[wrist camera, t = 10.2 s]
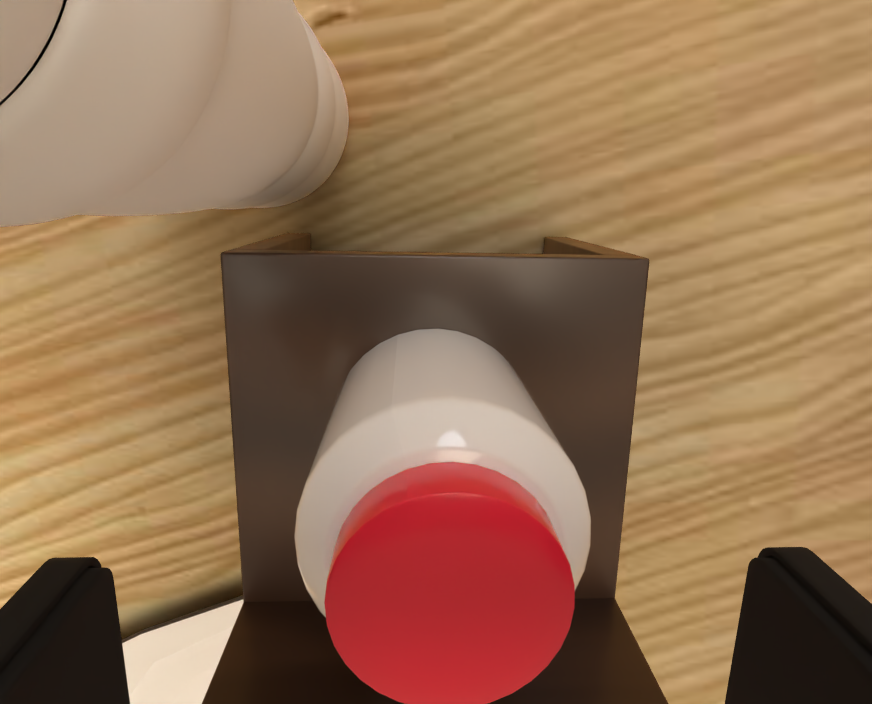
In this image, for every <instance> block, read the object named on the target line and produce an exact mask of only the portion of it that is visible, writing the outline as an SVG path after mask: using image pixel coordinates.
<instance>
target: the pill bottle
mask: <svg viewBox="0 0 872 704" xmlns="http://www.w3.org/2000/svg"><path fill="white" fill-rule="evenodd" d="M294 538H295V546H296V555H297V563H298V567H299V570H300V573H301V575H302V578H303V581H304V584H305V587H306V590H307V591H308V593H309V595H310V596H311V598H312V599H313V601H314V603H315V604H316V606H317V608H318V609H319V611H320V612H321V613H322V614H323V615H324V617H325V618H326V623H327V627H328V630H329V633H330V636H331V639H332V642H333V644H334V647H335V648H336V650H337V651H338V653H339V655H340V656H341V658H342V660H343V661H344V663H345V664H346V665H347V666H348V667H349V668H350V669H351V671H352V672H353V673H354V674H355V675H356V676H357V677H358V678H359V679H360V680H361V681H363V682H364V683H366V684H367V685H368V686H370V687H371V688H373V689H374V690H375V691H377V692H378V693H380V694H383V695H385V696H387V697H389V698H391V699H394V700H396V701H398V702H401V703H405V704H487V703H491V702H493V701H496V700H498V699H500V698H503V697H505V696H507V695H510V694H512V693H513V692H515V691H517V690H518V689H520V688H521V687H523V686H524V685H526V684H528V683H529V682H531V681H532V680H533V679H534V678H535V677H536V676H537V675H538V674H539V673H540V672H542V671H543V670H544V669H545V668H546V667H547V666H548V665H549V663H550V662H551V661H552V659H553V658H554V657H555V655H556V654H557V652H558V651H559V650H560V648H561V646H562V644H563V642H564V640H565V638H566V636H567V633H568V631H569V629H570V625H571V621H572V617H573V612H574V604H575V590H576V588H577V586H578V584H579V582H580V579H581V577H582V575H583V573H584V571H585V567H586V562H587V558H588V554H589V549H590V539H591V516H590V511H589V506H588V501H587V496H586V491H585V489H584V487H583V484H582V482H581V480H580V478H579V476H578V473H577V471H576V469H575V467H574V465H573V463H572V461H571V459H570V458H569V456H568V455H567V453H566V451H565V450H564V448H563V446H562V445H561V443H560V441H559V440H558V438H557V437H556V435H555V433H554V432H553V430H552V428H551V427H550V425H549V423H548V422H547V420H546V419H545V417H544V415H543V414H542V412H541V410H540V409H539V407H538V406H537V404H536V402H535V401H534V399H533V397H532V396H531V394H530V392H529V391H528V389H527V388H526V386H525V384H524V383H523V381H522V379H521V378H520V376H519V375H518V373H517V372H516V371H515V369H514V368H513V367H512V365H511V364H510V363H509V361H508V360H507V359H506V358H505V357H503V356H502V355H501V354H500V353H499V352H498V351H497V350H496V349H494V348H493V347H492V346H490V345H488V344H486V343H485V342H483V341H481V340H480V339H478V338H476V337H473V336H470V335H467V334H464V333H461V332H458V331H452V330H445V329H420V330H414V331H410V332H406V333H402V334H398V335H396V336H394V337H392V338H390V339H388V340H386V341H383V342H381V343H379V344H378V345H377V346H375V347H374V348H373V349H371V350H370V351H369V352H367V353H366V354H365V355H363V356H362V358H361V359H360V360H359V361H358V362H357V363H356V364H355V365H354V366H353V368H352V369H351V370H350V372H349V373H348V375H347V377H346V378H345V380H344V382H343V384H342V385H341V387H340V390H339V392H338V395H337V398H336V401H335V403H334V406H333V409H332V412H331V414H330V417H329V420H328V423H327V425H326V428H325V431H324V434H323V436H322V439H321V442H320V445H319V447H318V450H317V453H316V456H315V458H314V461H313V464H312V466H311V469H310V472H309V475H308V477H307V480H306V483H305V486H304V489H303V492H302V495H301V498H300V501H299V504H298V508H297V514H296V524H295V534H294Z"/></svg>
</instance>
